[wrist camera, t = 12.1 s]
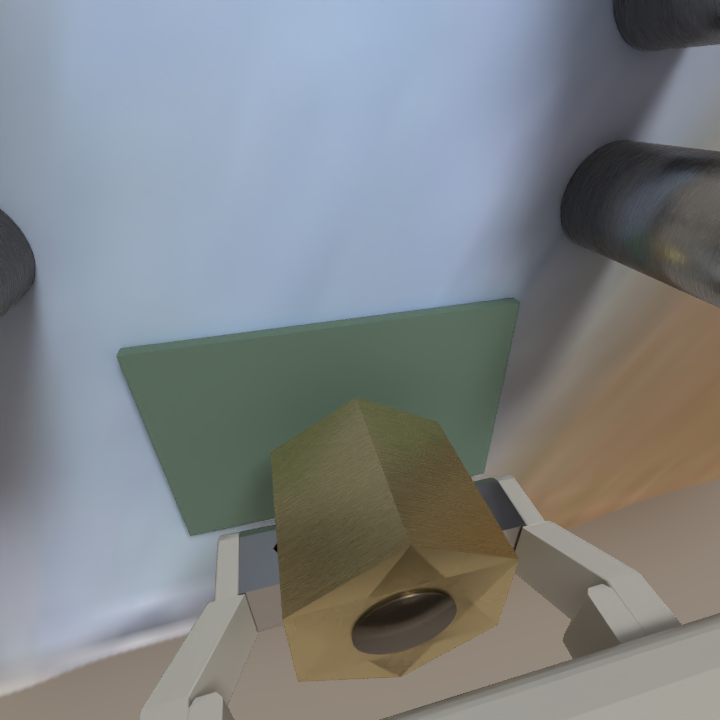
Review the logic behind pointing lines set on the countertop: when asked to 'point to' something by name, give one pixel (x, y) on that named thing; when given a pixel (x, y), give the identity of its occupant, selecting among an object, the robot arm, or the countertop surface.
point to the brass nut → (382, 545)
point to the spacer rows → (593, 182)
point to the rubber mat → (310, 395)
